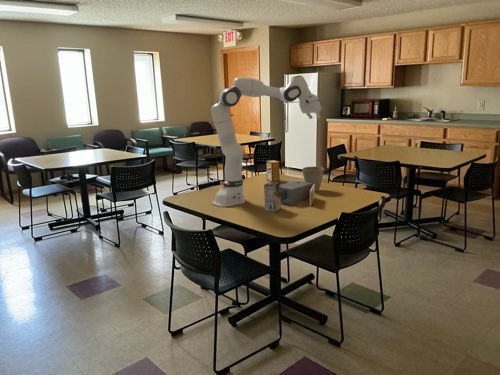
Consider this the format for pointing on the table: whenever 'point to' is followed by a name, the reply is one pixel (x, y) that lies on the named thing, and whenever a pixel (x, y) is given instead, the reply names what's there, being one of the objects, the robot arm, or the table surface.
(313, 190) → the side door
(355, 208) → the table surface
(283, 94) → the robot arm
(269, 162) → the baking soda box
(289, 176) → the table surface
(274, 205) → the coffee box
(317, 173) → the plant pot
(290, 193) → the camera housing
